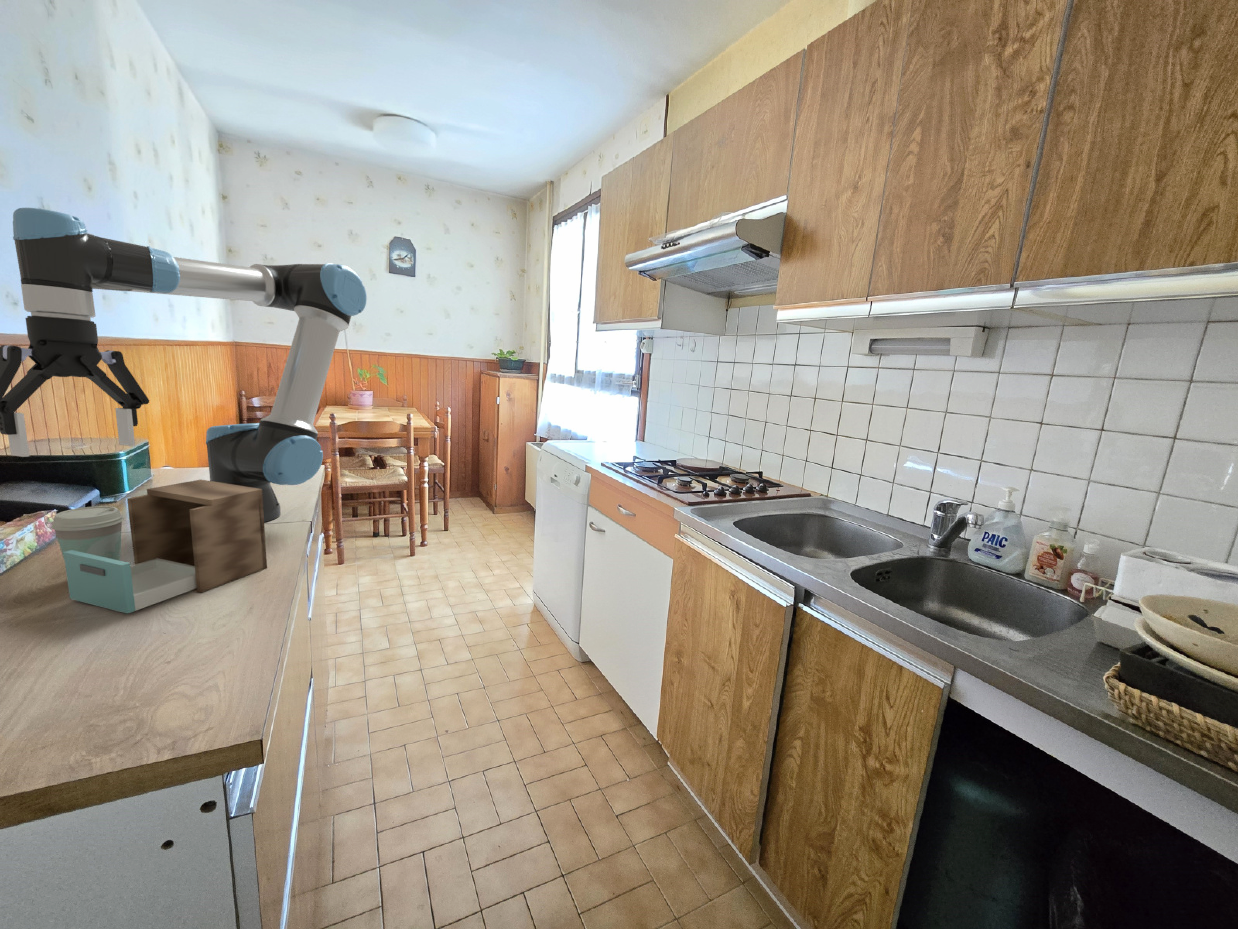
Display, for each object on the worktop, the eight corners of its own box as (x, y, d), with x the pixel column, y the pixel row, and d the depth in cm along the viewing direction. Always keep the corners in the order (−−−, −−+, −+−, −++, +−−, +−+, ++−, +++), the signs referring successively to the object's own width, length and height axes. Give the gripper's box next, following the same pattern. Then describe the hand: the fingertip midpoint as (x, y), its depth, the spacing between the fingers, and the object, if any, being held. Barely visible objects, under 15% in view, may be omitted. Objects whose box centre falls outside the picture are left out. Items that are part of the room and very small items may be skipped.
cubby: (207, 555, 100) (200, 479, 97) (267, 568, 96) (261, 489, 93) (136, 578, 88) (126, 492, 85) (200, 593, 84) (192, 504, 82)
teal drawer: (158, 570, 90) (154, 529, 89) (211, 582, 87) (207, 540, 86) (68, 599, 79) (61, 552, 77) (125, 614, 75) (119, 565, 74)
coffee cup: (85, 592, 82) (75, 522, 80) (45, 584, 84) (34, 515, 82) (143, 572, 91) (136, 508, 88) (106, 566, 92) (98, 503, 90)
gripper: (137, 324, 92) (148, 439, 96) (-79, 304, 68) (-53, 458, 72) (167, 326, 90) (177, 443, 94) (-44, 306, 66) (-19, 463, 70)
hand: (77, 450), depth 83 cm, fingers open, 13 cm apart
